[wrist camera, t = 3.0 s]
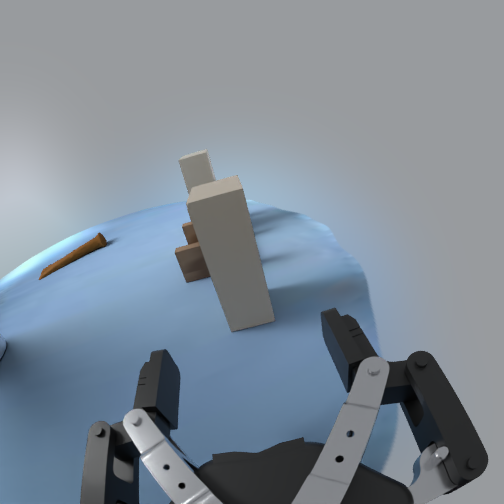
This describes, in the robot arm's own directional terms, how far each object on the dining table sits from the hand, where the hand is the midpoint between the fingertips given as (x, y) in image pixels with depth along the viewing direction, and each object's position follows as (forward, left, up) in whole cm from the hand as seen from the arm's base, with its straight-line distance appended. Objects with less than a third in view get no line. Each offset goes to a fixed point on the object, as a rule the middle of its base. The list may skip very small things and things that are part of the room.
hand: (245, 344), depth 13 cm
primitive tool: (-53, +16, -7) cm, 56 cm away
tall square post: (-19, +26, -5) cm, 33 cm away
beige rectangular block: (-6, +10, -7) cm, 13 cm away
